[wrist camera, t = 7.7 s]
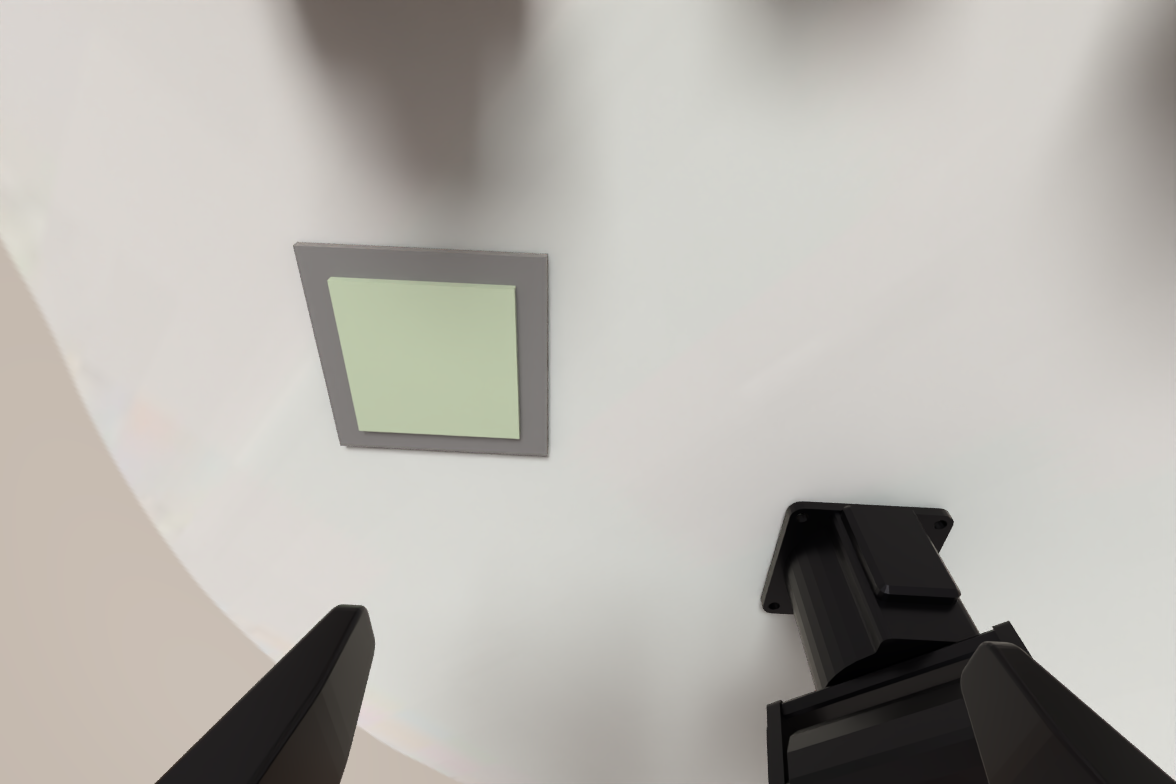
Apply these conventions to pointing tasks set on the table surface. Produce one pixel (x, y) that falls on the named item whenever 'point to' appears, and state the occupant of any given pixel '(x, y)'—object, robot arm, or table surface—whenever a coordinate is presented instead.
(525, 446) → the tile
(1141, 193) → the table surface
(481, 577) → the table surface
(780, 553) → the robot arm
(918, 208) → the table surface
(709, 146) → the table surface
